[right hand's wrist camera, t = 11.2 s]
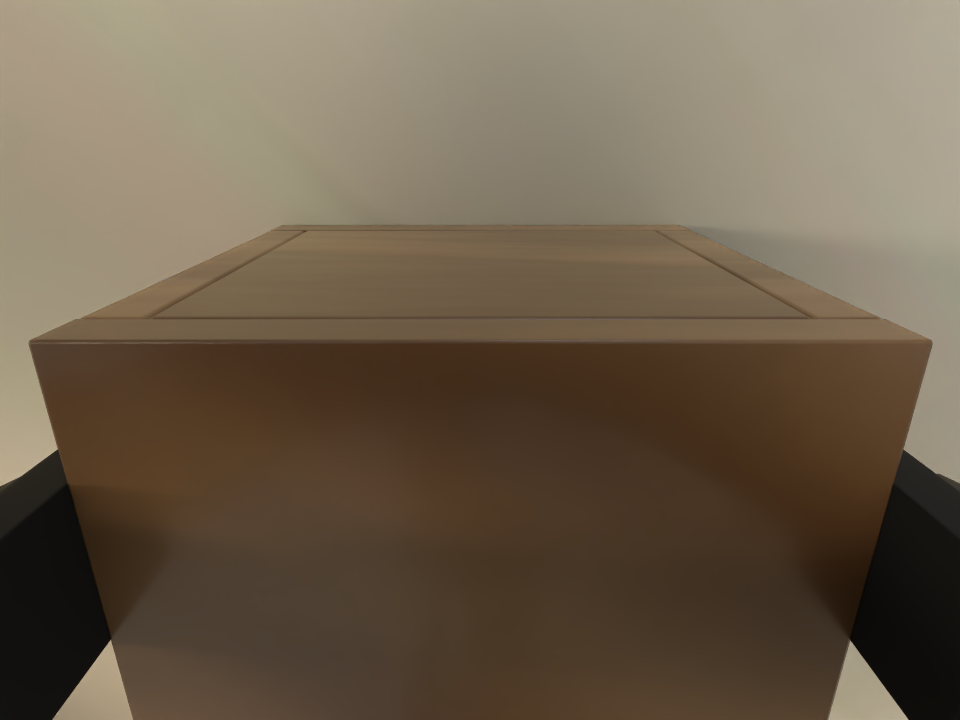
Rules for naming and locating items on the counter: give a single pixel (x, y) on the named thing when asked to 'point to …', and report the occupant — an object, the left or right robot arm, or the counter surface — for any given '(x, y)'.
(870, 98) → the counter surface
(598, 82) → the counter surface
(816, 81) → the counter surface
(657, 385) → the cabinet
